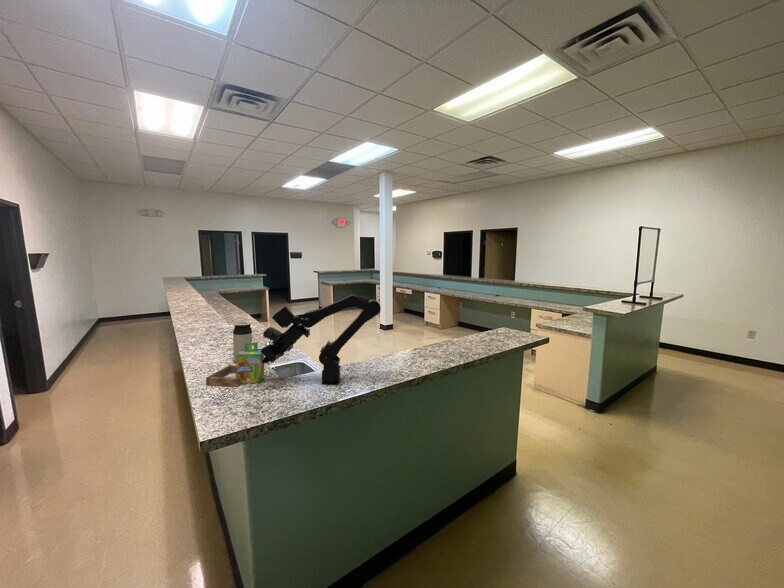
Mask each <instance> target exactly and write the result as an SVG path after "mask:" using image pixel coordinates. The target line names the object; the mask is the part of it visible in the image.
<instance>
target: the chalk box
mask: <svg viewBox="0 0 784 588" xmlns="http://www.w3.org/2000/svg"><path fill="white" fill-rule="evenodd" d="M251 345H252V347H253V348H252V349H249V348H248V347H249V346H251ZM262 349H263V348H259V347H258V342H252V343H245V349H241V350H240V352H239V353H238V354H237V358H236V362H235V365H236V373H235V375H236V376H235V378H240V385H245V384H249V383H250V384H259V383H258V382H261V383H262V382H263V380H264V377H265V364H264V363H263V362H262V361H263V360H264V358H265V355H264V354H263V353H262V352H261V350H262ZM263 376H264V377H263ZM262 379H263V380H262Z"/></svg>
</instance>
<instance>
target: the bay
mask: <svg viewBox="0 0 784 588" xmlns="http://www.w3.org/2000/svg"><path fill="white" fill-rule="evenodd" d="M229 373H230V374H236V364H229V365H227V366H225V367H223V368H221V369H220V370H218V371H216V372H214V373H212V374H210V375H208V376H206V378H205V382H206V384H205V386H207V387H208V386H210V387H229V388H231V387H232V388H239V387H240V385H241V384H240V378H236V377H227V376H228V375H230V374H229Z"/></svg>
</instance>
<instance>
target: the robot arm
mask: <svg viewBox="0 0 784 588" xmlns="http://www.w3.org/2000/svg"><path fill="white" fill-rule="evenodd" d="M352 306H354V307H356V308H358V309H361V311H360V312H359V314H358V316H357V317H356V318H354V320H352V322H350V324H349V325H348V326H347V327H346V328H345V329H344V330H343V331H342V332H341V333H340V334H339V336H338V337H336V339H334V340H333V341H332V342H331V341H330V340H328V341H326V342H327V343H325V345H323V346H322V347H321V349H320V350H319V355H318V362H320V364H321V365H323V368H322V370H321V381H322V382H321V384H322V385H334V386H335V385H339V384H340V382H341V380H342V378H341V372H342V371H341V370H342V369H341V367H342V366H341V365H340V362H341V358H340V356H338V354H339V352H340V351H341V349H342V348H343V347H344V346H345V345H346V344H347V343H348V342H349V341H350V339H352V337H354V336H355V334H356V333H358V331H359V330H360V329H361V328H362V326H364V325H365V324H366V323H367V322H369V321H370V320H372V319H374V318H375V317H376V316H377V315H378V314H379V313H380V312H381V304H380V303H379V301H378V300H376V299H373V298H371V299H367V298H364V297H363V296H358V295H356V294H353V293H352V294H350V295H349V296H346V297H344V298H342V299H340V300H338V301H335V302H333V303H330V304H328V305H326V306H324V307H321V308H315V309H312V310H308V311H306V312H304V313H303V314H302V313H301V314H296V315H295V314H294V313H293V312H292V311H291V310H290V309H289V307H287V306H286V305H285V306H284V307H282V308H281V309H280V310H279V311H277V312H276V313H275V314H273V316H272V317H271V319H272V320H273V321H274V322H275V323H276V324H277V325H278V326H279V327H280V328H281V329H287V330H285V331H284V332H281V331H280V330H278V329H277V328H274V327H271V326H269V327H267V328H265V330H264V331H263V332H262V334H263V335H262V337H263V338H266V339H268V340H270V341H272V342H271V343H272V344H267V345H265V346H264V347H262V348H261V349H262V350H261V352H262V353H263V354H264V360H263V361H262V362H263V363H264V365H265V364H267V363H274V362H275V361H277V360H278V359H280V357H283V356H284V355H285V353H286V352H290V351H291V350H292V349H293V348H294V344H296V343H297V342H298V340H299V339H301V338H302V337H303V336H305V337H306V338H307V339H308V338H309V336H310V335H311V333H310V332H311V329H310V328H312V327H314V326H315V325H317V324H318V323H320V322H321V321H322V320H324V319H325V318H327V317H329V316H332V315H334V314H336V313H338V312H340V311H342V310H345V309H347V308H349V307H352ZM290 325H291V326H290ZM289 326H290V327H289Z"/></svg>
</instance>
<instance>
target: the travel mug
mask: <svg viewBox="0 0 784 588" xmlns="http://www.w3.org/2000/svg"><path fill="white" fill-rule="evenodd" d="M233 325H234V328H233V330H232V336H233V338H232V344H233V349H232V350H233V351H232V352H233V356H232V357H233V362H235V363H236V358H237V354H238V353H239V352H240V350H241V349H245V343H253V329H252V327H251V326H252V322H251V321H238V322H233ZM248 348H249V349H253V346H252V345H251V346H249V347H248Z"/></svg>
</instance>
